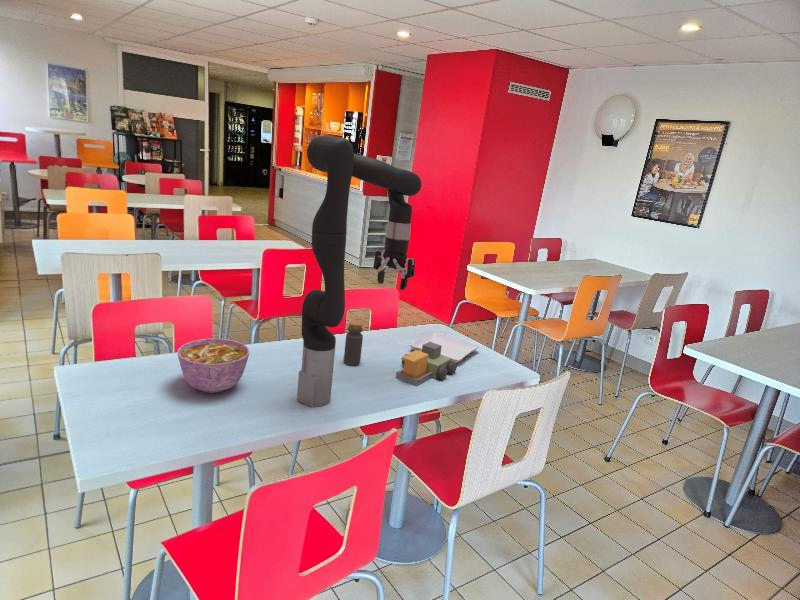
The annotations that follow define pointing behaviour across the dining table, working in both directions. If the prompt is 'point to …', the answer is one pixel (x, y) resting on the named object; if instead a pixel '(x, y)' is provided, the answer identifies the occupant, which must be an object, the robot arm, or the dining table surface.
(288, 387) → the dining table surface
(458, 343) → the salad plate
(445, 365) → the green boxy vehicle
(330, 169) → the robot arm
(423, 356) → the orange box
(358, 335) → the bottle
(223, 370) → the bowl of food
